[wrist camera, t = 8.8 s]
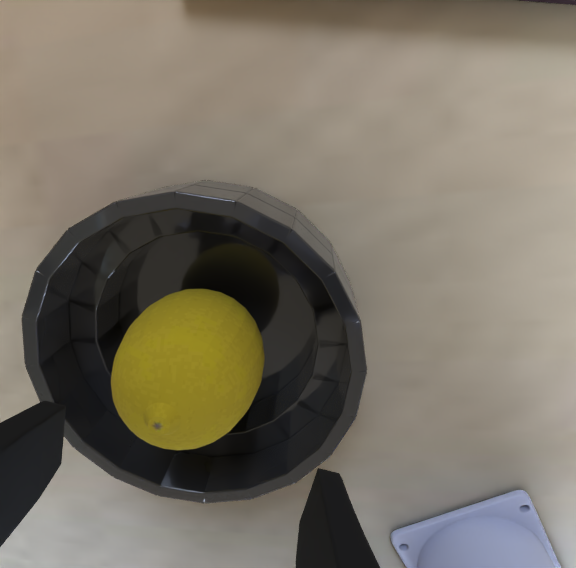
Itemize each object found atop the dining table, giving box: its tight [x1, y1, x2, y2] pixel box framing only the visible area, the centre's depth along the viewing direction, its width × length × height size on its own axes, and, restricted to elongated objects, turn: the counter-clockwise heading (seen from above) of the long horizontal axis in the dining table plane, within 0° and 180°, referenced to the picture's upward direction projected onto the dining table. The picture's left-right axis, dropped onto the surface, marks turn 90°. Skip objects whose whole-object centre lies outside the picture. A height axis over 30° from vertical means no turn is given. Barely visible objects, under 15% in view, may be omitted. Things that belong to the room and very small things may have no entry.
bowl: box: [22, 180, 367, 503], centre depth 18 cm, size 13×13×5 cm
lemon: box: [111, 289, 265, 450], centre depth 16 cm, size 6×6×8 cm
